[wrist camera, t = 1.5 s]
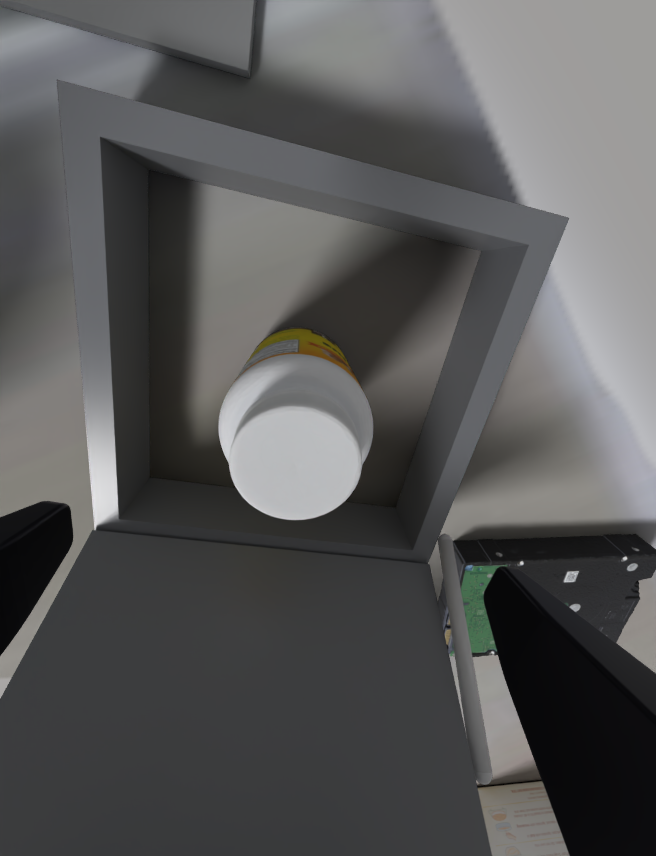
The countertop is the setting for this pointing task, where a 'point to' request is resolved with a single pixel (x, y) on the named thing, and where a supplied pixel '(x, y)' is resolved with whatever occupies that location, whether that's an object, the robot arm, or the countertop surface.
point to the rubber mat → (163, 26)
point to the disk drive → (554, 579)
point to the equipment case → (255, 558)
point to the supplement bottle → (296, 426)
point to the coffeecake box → (521, 821)
